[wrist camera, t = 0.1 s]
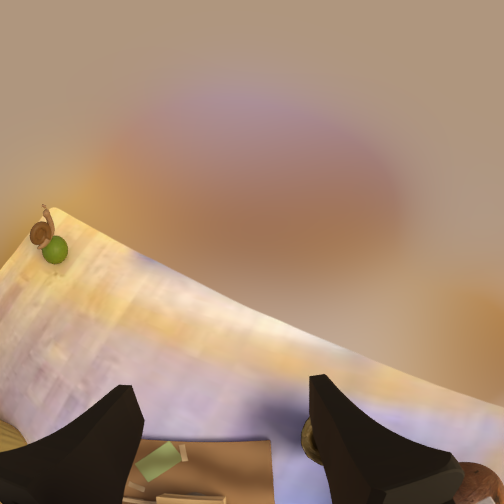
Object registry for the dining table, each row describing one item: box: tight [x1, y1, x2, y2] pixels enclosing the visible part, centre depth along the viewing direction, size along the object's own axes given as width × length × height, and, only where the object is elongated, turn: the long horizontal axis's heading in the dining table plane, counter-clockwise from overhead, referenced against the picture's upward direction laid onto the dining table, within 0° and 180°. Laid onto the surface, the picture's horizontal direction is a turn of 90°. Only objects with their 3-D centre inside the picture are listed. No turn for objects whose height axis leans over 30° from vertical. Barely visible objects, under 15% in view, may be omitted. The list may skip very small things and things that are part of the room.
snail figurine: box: [30, 204, 68, 264], centre depth 51 cm, size 5×6×12 cm
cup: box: [301, 417, 323, 466], centre depth 34 cm, size 8×7×8 cm
